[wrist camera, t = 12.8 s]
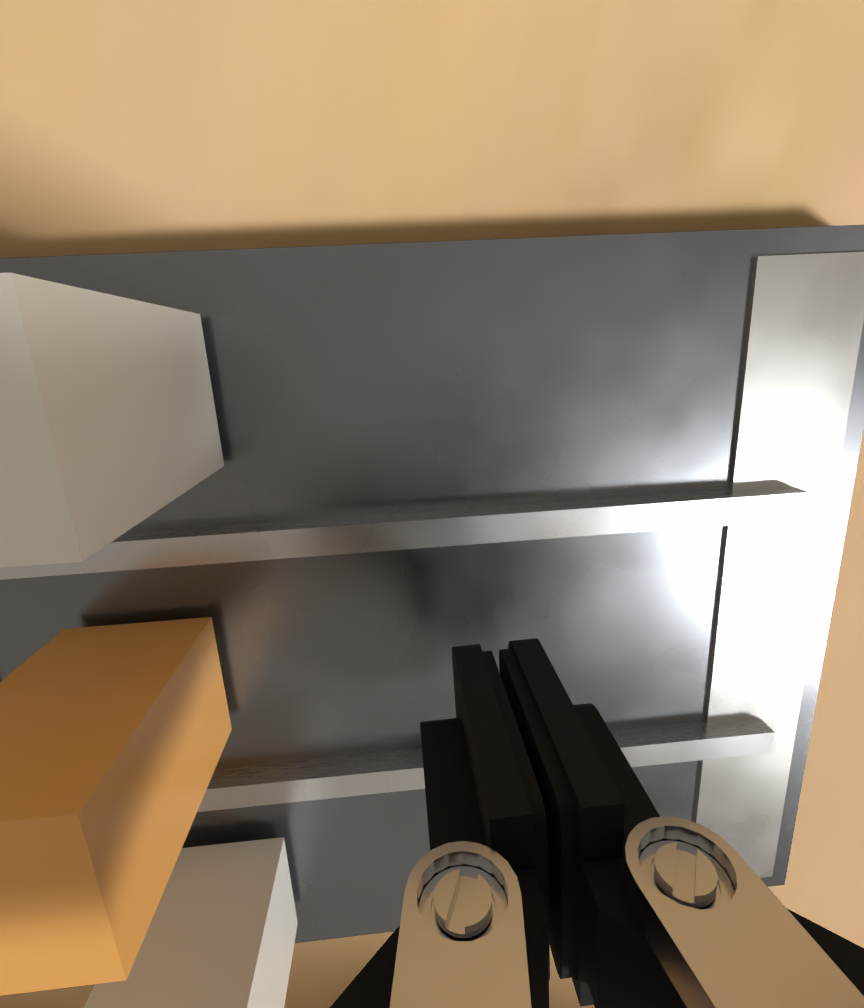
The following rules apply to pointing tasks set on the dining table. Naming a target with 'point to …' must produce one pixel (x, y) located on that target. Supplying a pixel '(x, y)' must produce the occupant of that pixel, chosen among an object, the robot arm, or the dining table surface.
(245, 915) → the block
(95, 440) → the block
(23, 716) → the block
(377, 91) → the dining table surface
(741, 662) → the panel
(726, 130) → the dining table surface
